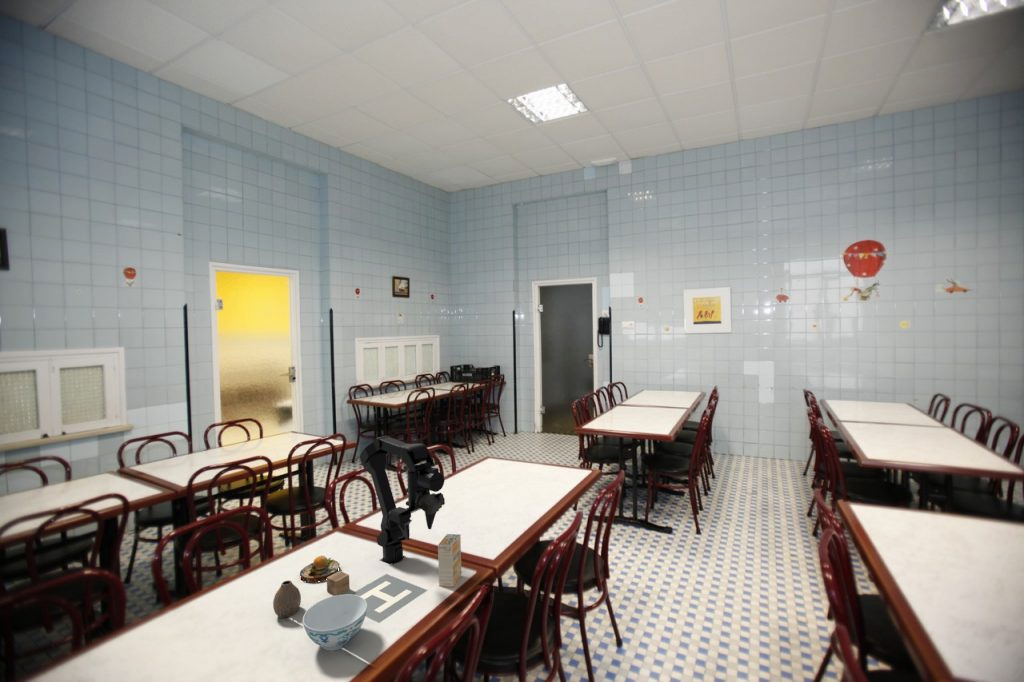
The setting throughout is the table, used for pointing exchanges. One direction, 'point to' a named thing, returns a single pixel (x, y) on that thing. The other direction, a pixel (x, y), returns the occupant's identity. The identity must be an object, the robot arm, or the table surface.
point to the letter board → (387, 596)
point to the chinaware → (335, 620)
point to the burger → (319, 569)
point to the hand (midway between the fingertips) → (418, 534)
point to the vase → (286, 600)
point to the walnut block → (338, 583)
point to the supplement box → (449, 560)
